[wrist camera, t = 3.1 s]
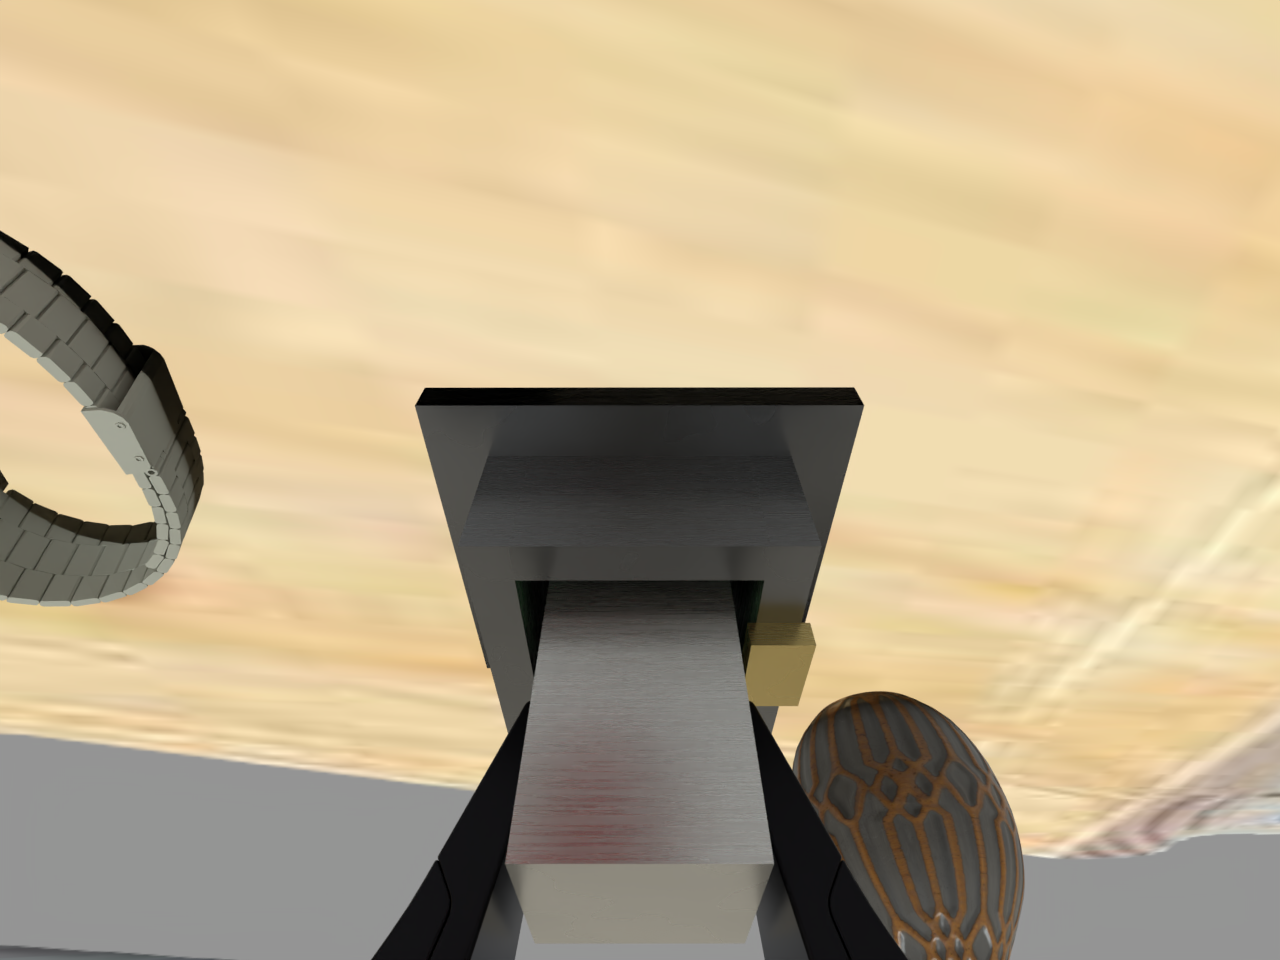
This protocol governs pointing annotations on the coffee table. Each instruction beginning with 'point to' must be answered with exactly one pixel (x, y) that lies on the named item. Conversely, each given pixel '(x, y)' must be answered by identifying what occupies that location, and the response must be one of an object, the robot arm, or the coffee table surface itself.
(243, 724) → the coffee table surface
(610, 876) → the post
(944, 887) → the vase
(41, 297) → the wristwatch
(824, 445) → the stand base
